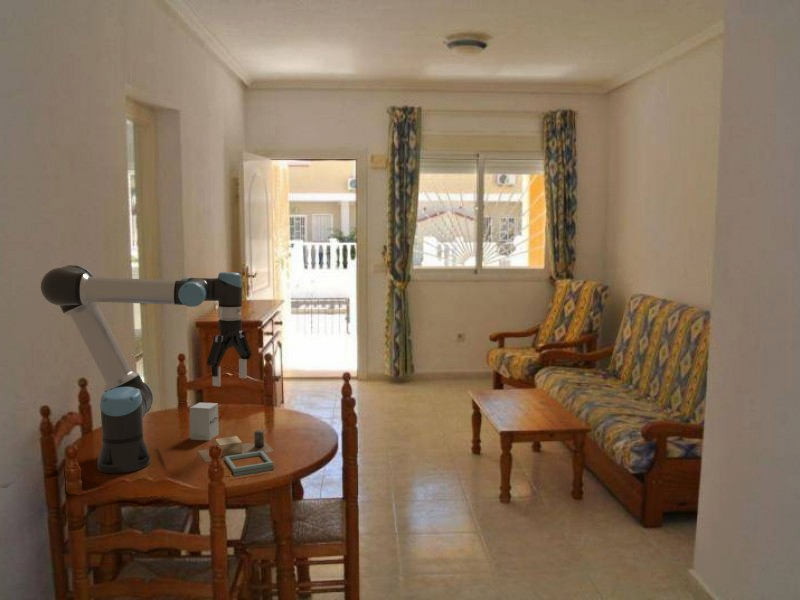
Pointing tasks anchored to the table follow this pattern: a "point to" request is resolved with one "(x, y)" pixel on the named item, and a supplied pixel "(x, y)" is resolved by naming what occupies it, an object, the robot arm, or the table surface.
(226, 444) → the beige wooden block
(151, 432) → the table surface
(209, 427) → the supplement box
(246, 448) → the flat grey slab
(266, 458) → the grey-green flat square frame
